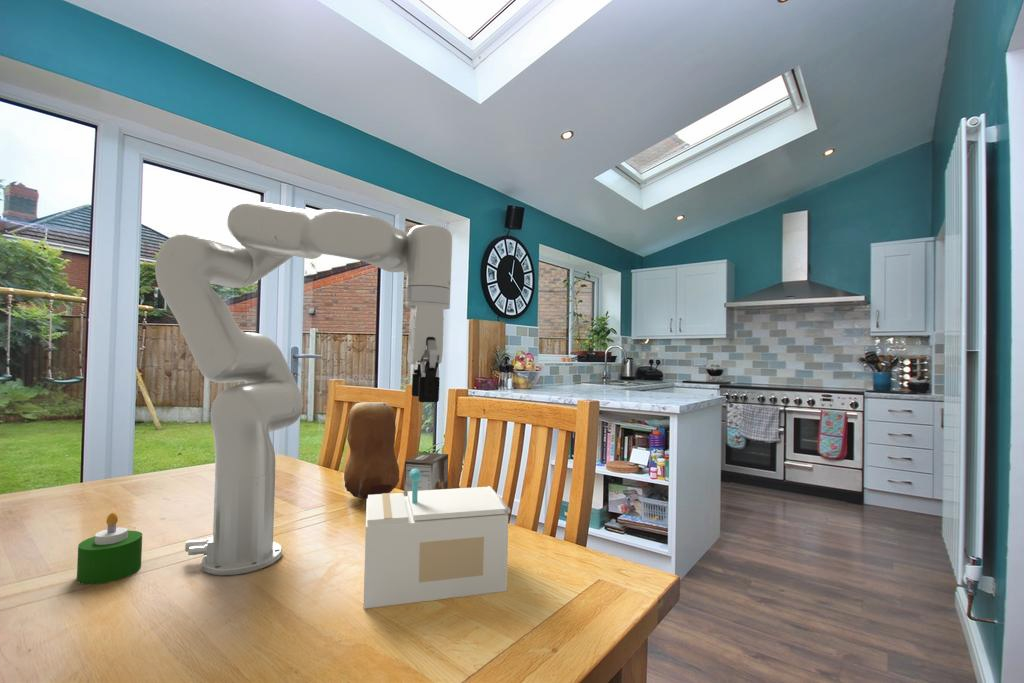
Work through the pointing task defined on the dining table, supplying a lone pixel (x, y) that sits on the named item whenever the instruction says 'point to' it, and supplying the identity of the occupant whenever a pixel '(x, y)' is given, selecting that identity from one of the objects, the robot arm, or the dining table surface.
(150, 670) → the dining table surface
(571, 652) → the dining table surface
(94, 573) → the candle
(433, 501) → the flap
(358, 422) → the butternut squash
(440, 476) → the coffee box
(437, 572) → the carton
